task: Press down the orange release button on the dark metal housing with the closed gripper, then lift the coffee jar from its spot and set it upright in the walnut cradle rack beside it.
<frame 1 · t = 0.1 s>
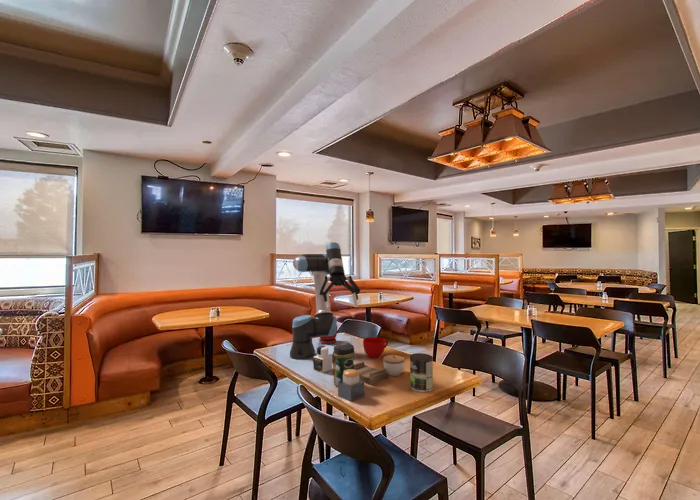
hand: (342, 306, 160), 36 cm above the table, tool tilted 35°, fingers open, 13 cm apart
medicine bottle: (322, 370, 177), on the table
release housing: (351, 396, 144), on the table
cradle rack: (367, 377, 166), on the table
coffee can: (421, 387, 153), on the table
plant pot: (327, 342, 232), on the table
release button: (351, 380, 144), point 7 cm above the table, slide at 0.0 cm
ceramic cup: (376, 356, 199), on the table
lidded jar: (393, 374, 171), on the table
coffee jar: (344, 384, 157), on the table
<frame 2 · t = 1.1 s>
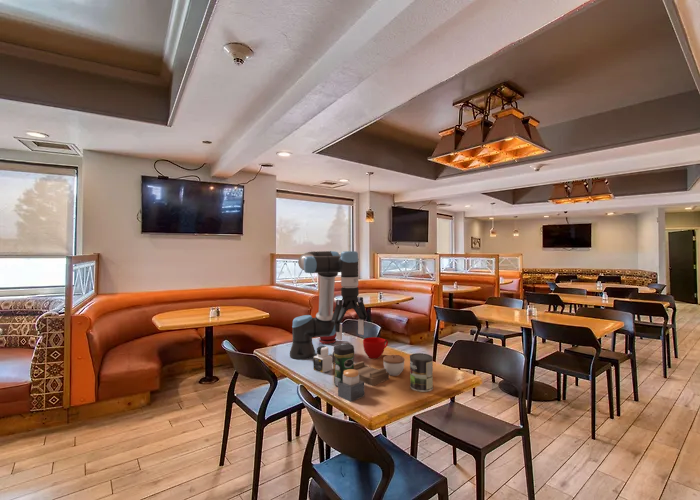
hand: (350, 336, 145), 25 cm above the table, tool pointing down, fingers open, 12 cm apart
nothing on the table moved.
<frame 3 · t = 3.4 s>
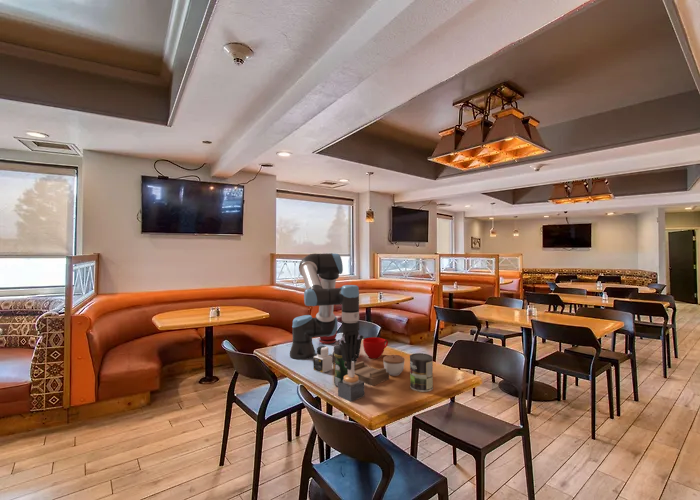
hand: (351, 376, 144), 8 cm above the table, tool pointing down, fingers closed
release button: (351, 385, 144), point 5 cm above the table, slide at 2.2 cm, touching gripper
everything else where it was.
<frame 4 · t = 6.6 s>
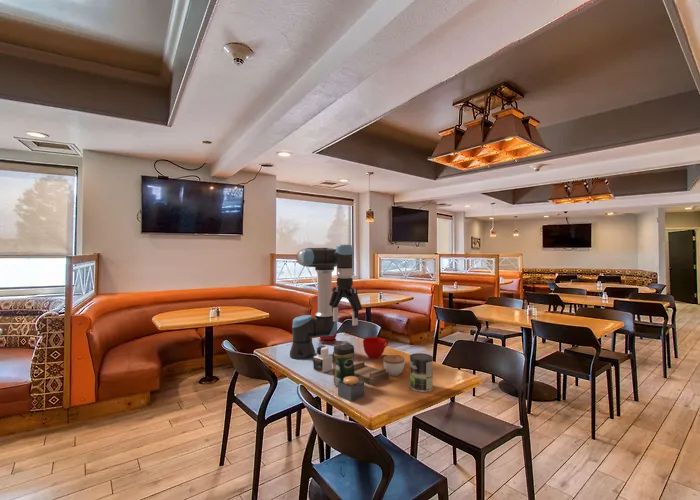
hand: (345, 323, 157), 29 cm above the table, tool pointing down, fingers open, 13 cm apart
release button: (351, 387, 144), point 4 cm above the table, slide at 3.1 cm
everything else where it was.
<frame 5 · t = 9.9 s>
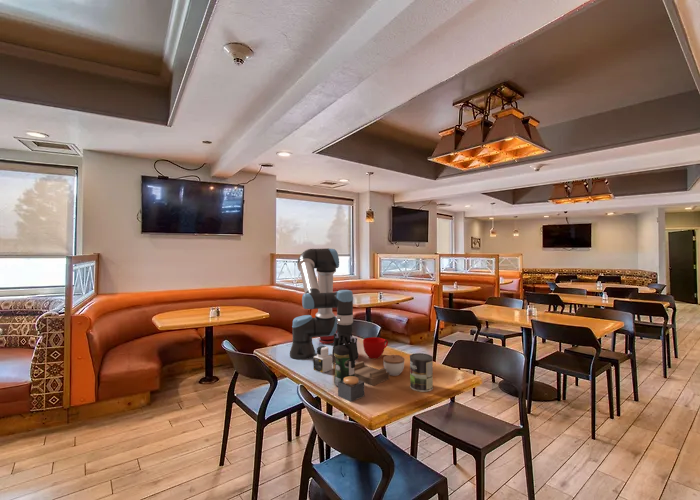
hand: (345, 372, 157), 6 cm above the table, tool pointing down, fingers closed on coffee jar, 8 cm apart
coffee jar: (344, 384, 157), on the table, touching gripper
everything else where it was.
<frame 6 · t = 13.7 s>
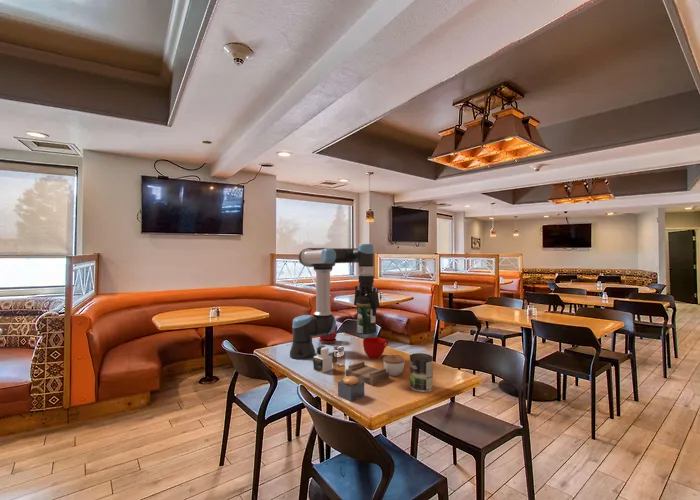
hand: (366, 321, 166), 28 cm above the table, tool pointing down, fingers closed on coffee jar, 8 cm apart
coffee jar: (366, 333, 166), point 22 cm above the table, touching gripper
everything else where it was.
when the fingers open (10 cm above the table, at t = 17.5 s): coffee jar drops 1 cm, resting on cradle rack.
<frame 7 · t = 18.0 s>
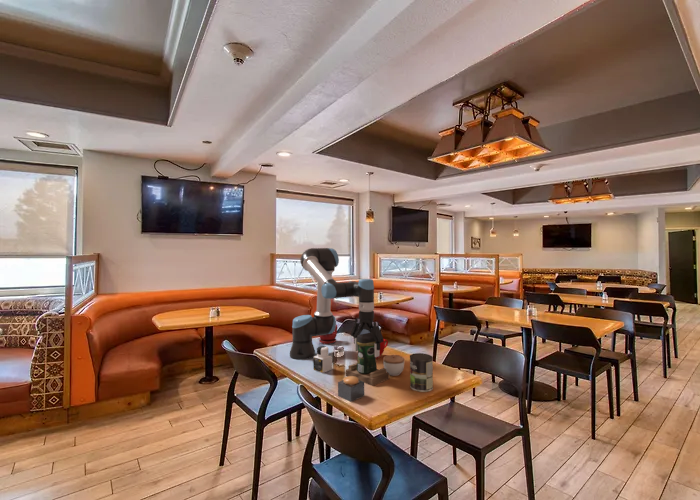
hand: (366, 353, 166), 12 cm above the table, tool pointing down, fingers open, 13 cm apart
coffee jar: (366, 371, 165), point 3 cm above the table, touching cradle rack
everything else where it was.
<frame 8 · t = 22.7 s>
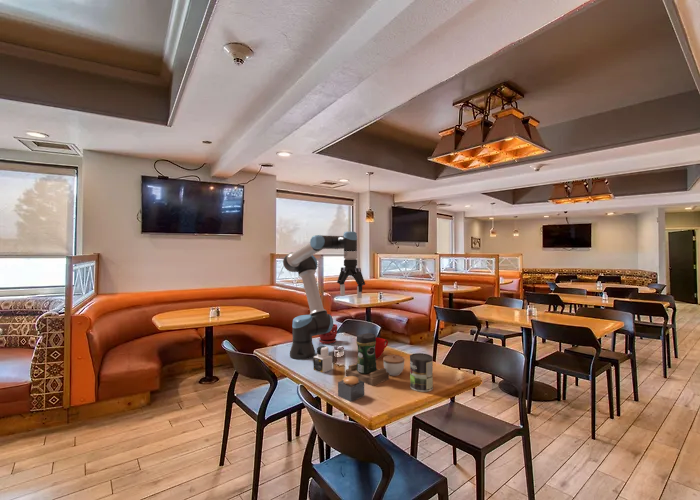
hand: (350, 296, 189), 37 cm above the table, tool pointing down, fingers open, 13 cm apart
nothing on the table moved.
at the end: release button slide at 3.1 cm; coffee jar 0.2 cm off-centre on the cradle rack, point 2.8 cm above the cradle rack's base; coffee jar tilted 0° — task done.
